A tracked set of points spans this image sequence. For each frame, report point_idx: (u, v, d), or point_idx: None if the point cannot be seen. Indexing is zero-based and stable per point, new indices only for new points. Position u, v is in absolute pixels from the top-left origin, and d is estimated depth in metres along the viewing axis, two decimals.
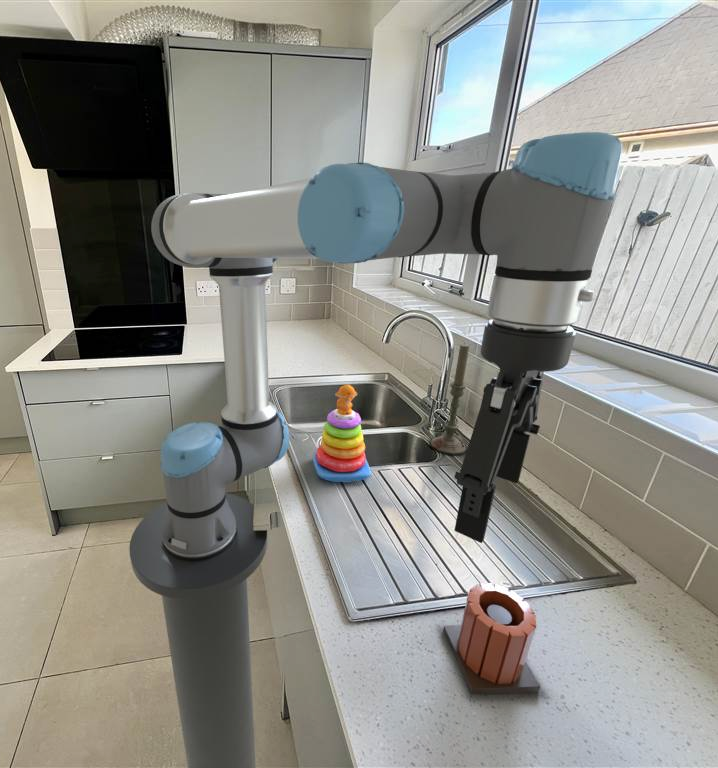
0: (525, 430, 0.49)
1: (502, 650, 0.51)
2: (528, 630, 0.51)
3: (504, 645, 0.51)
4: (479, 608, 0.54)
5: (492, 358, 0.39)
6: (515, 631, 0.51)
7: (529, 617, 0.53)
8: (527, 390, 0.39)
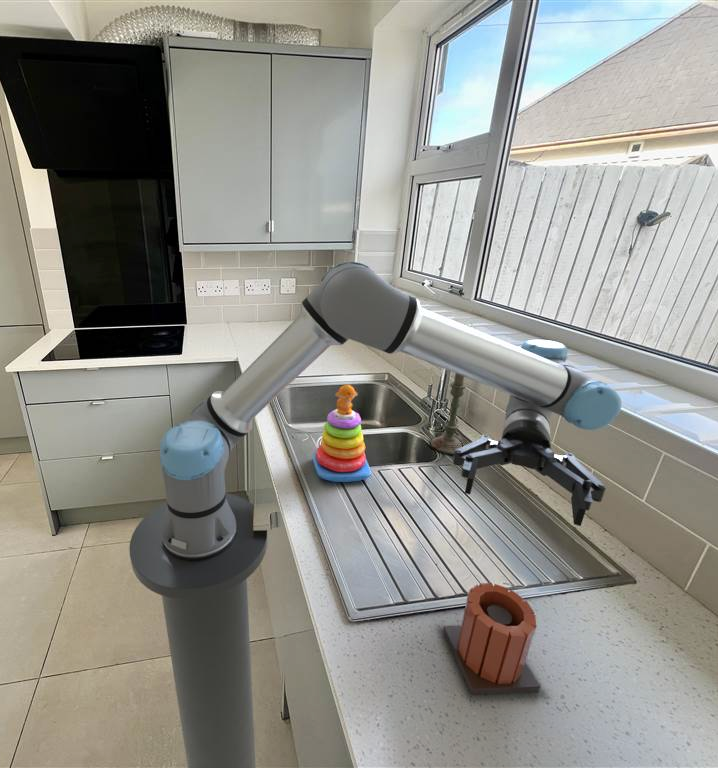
0: None
1: (502, 650, 0.51)
2: (528, 630, 0.51)
3: (504, 645, 0.51)
4: (479, 608, 0.54)
5: (549, 440, 0.69)
6: (515, 631, 0.51)
7: (529, 617, 0.53)
8: None
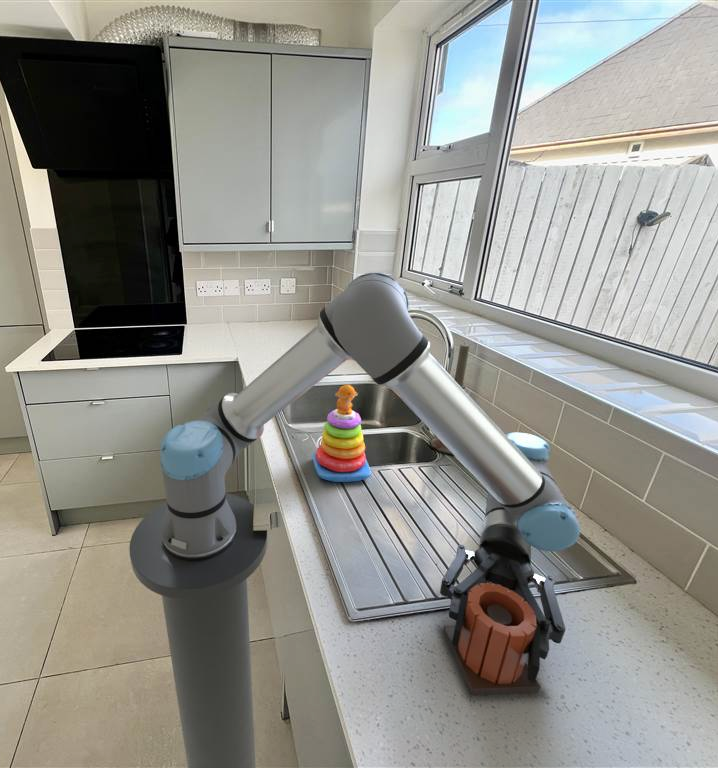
0: None
1: (502, 650, 0.51)
2: (528, 630, 0.51)
3: (504, 645, 0.51)
4: (479, 608, 0.54)
5: (529, 554, 0.65)
6: (515, 631, 0.51)
7: (529, 617, 0.53)
8: None
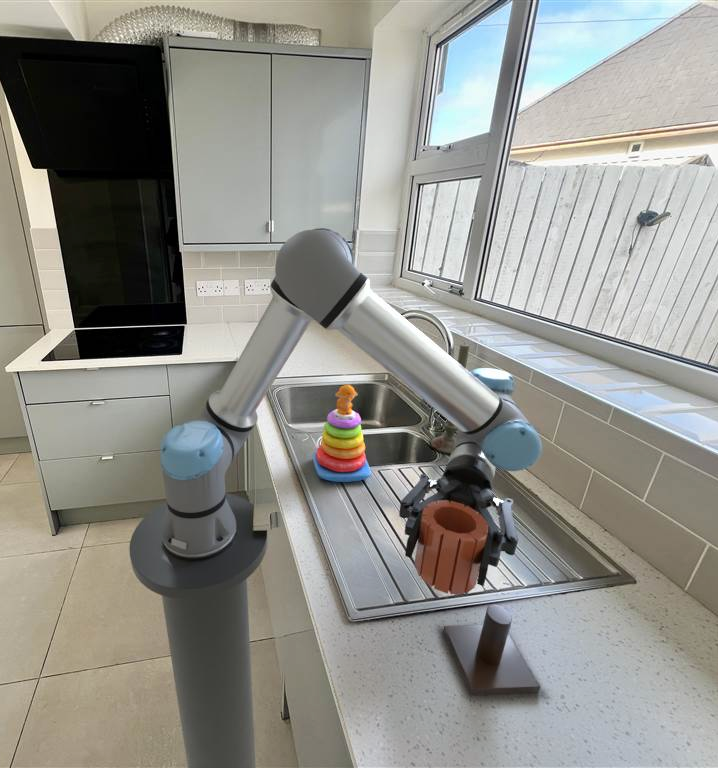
0: None
1: (453, 556, 0.51)
2: (478, 536, 0.51)
3: (455, 551, 0.51)
4: (432, 519, 0.54)
5: (490, 480, 0.65)
6: (465, 537, 0.51)
7: (481, 526, 0.53)
8: None
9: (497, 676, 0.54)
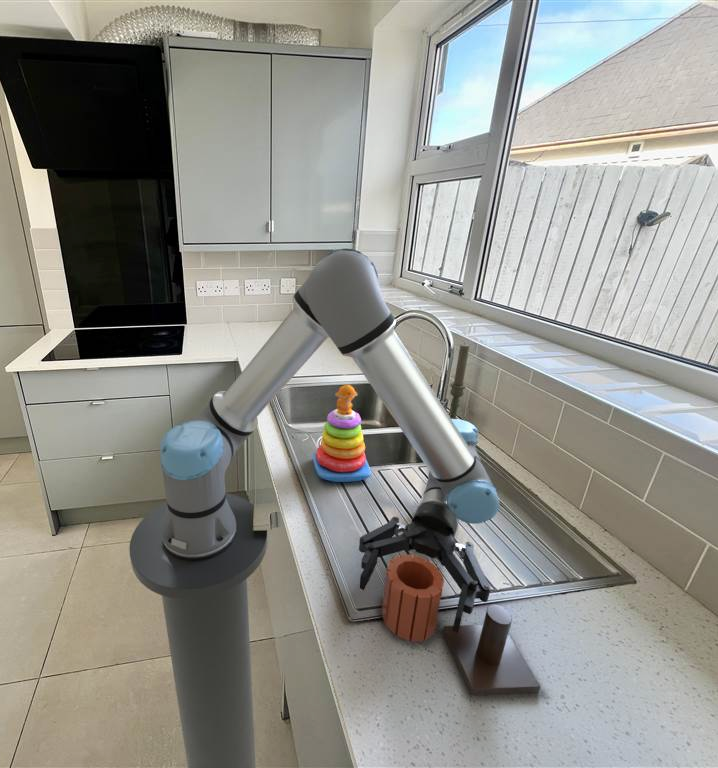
0: None
1: (412, 610, 0.58)
2: (434, 592, 0.58)
3: (413, 606, 0.58)
4: (395, 575, 0.61)
5: (453, 527, 0.71)
6: (422, 593, 0.58)
7: (437, 582, 0.59)
8: None
9: (497, 676, 0.54)
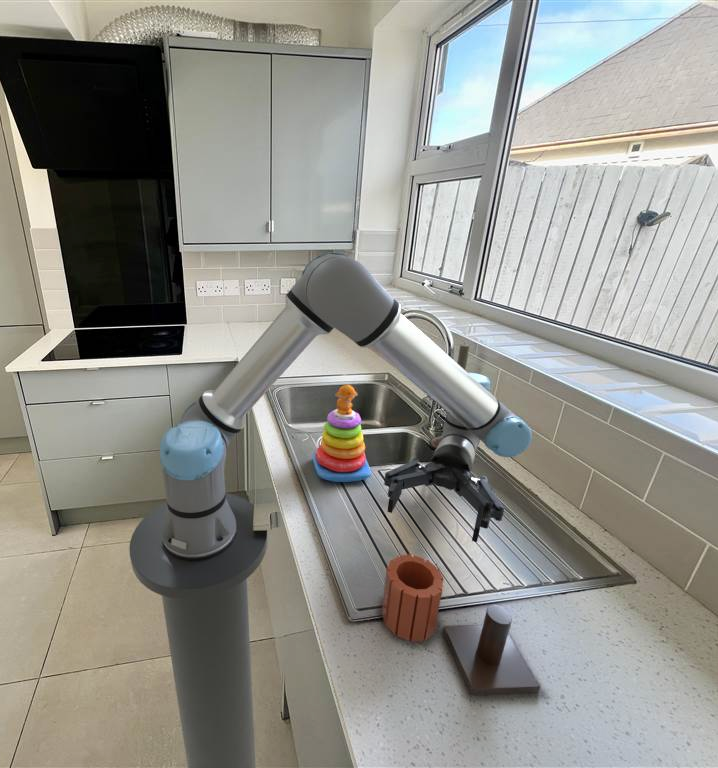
0: None
1: (412, 610, 0.58)
2: (434, 592, 0.58)
3: (413, 606, 0.58)
4: (395, 575, 0.61)
5: (468, 464, 0.79)
6: (422, 593, 0.58)
7: (437, 582, 0.59)
8: None
9: (497, 676, 0.54)
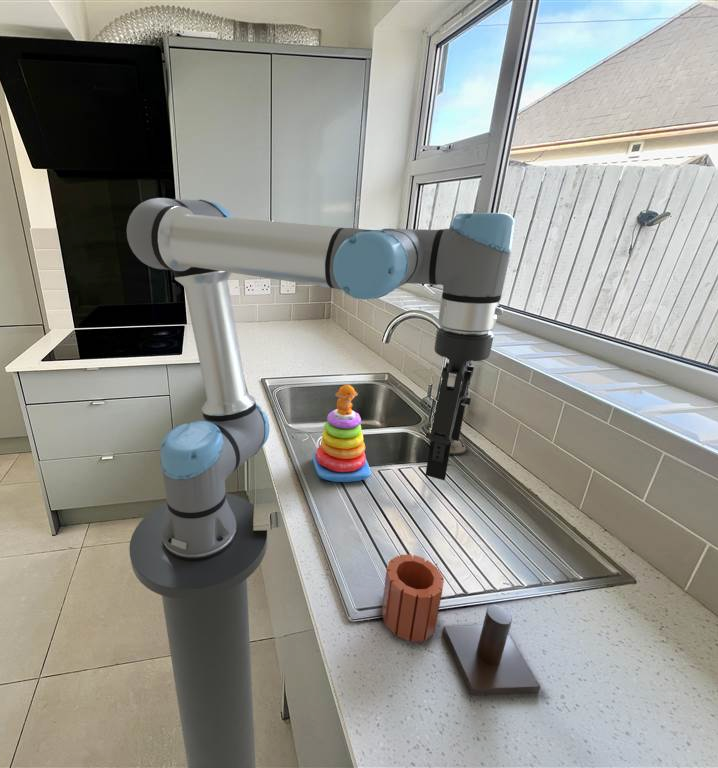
0: (461, 402, 0.69)
1: (412, 610, 0.58)
2: (434, 592, 0.58)
3: (413, 606, 0.58)
4: (395, 575, 0.61)
5: (444, 354, 0.58)
6: (422, 593, 0.58)
7: (437, 582, 0.59)
8: (466, 374, 0.58)
9: (497, 676, 0.54)
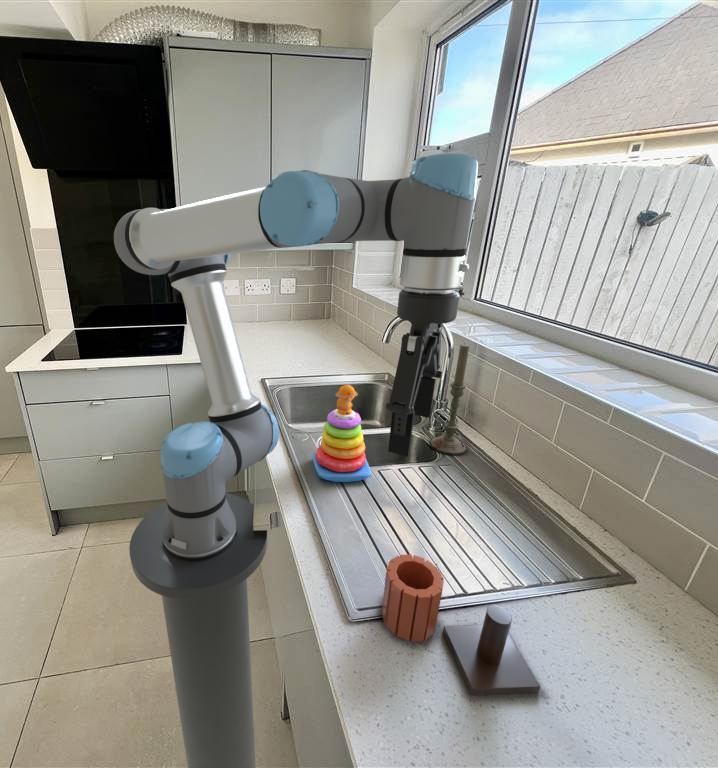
0: (432, 375, 0.64)
1: (412, 610, 0.58)
2: (434, 592, 0.58)
3: (413, 606, 0.58)
4: (395, 575, 0.61)
5: (405, 317, 0.53)
6: (422, 593, 0.58)
7: (437, 582, 0.59)
8: (431, 339, 0.53)
9: (497, 676, 0.54)
